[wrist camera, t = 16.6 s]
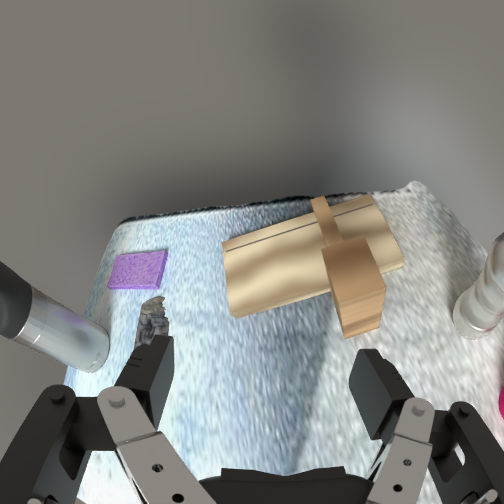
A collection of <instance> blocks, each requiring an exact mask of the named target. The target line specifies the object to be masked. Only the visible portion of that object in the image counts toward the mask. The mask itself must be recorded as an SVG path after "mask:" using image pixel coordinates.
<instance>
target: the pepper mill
mask: <svg viewBox="0 0 504 504" xmlns="http://www.w3.org/2000/svg"><path fill="white" fill-rule="evenodd" d="M499 409H500V413H501V415H502V417H503V419H504V388H503V389H502V392H501V395H500V399H499Z"/></svg>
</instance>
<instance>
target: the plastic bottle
mask: <svg viewBox="0 0 504 504" xmlns="http://www.w3.org/2000/svg"><path fill="white" fill-rule="evenodd" d="M503 316H504V233H502V234H501V235H500V236H498V237H497V238H496V239H495V241H494V243H493V244H492V247H491V249H490V251H489V254H488V257H487V260H486V263H485V265H484V268H483V270H482V271H481V273H480V275H479V277H478V279H477V280H476V281H475V282H474V283H473V284H472V286H471V287H469V288H468V289H466V290H465V291H464V292H463V293H462V294H461V295H460V296H459V298H458V299H457V301H456V303H455V307H454V310H453V322H454V326H455V328H456V329H457V331H458V332H459V333H460V334H461V335H462V336H464V337H465V338H468V339H473V340H475V339H480V338H483V337H485V336H487V335H489V334H490V333H491V332H492V331H493V330H494V329H495V328H496V326H497V325H498V323H499V322H500V320H501V319H502V318H503Z"/></svg>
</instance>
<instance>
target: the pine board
mask: <svg viewBox="0 0 504 504" xmlns="http://www.w3.org/2000/svg"><path fill="white" fill-rule="evenodd" d="M329 208H330V210H331V212H332V215H333V217H334V219H335V222H336V224H337V226H338V229H339V231H340V234H341V236H342V238H343V241H347V240H350V239H353V238H356V237H359V236H362V235H364V237H365V239H366V241H367V243H368V245H369V248H370V250H371V252H372V255H373V257H374V259H375V261H376V264H377V266H378V269H379V271H380V273H381V274H384V273H387V272H390V271H392V270H395V269H398V268H401V267H403V262H404V257H403V255H402V253H401V251H400V249H399V247H398V245H397V243H396V241H395V239H394V237H393V235H392V233H391V231H390V229H389V227H388V225H387V223H386V221H385V219H384V217H383V215H382V213H381V212H380V210H379V208H378V206H377V204H376V202H375V201H374V199H373V197H372V195H371V194H369V195H366V196H362V197H359V198H356V199H353V200H350V201H346V202H343V203H340V204H337V205H334V206H331V207H329ZM222 247H223V256H224V265H225V274H226V283H227V292H228V300H229V308H230V313H231V314H232V315H233V316H234V317H235V318H240V317H244V316H247V315H251V314H255V313H258V312H262V311H266V310H269V309H273V308H276V307H280V306H283V305H287V304H290V303H293V302H297V301H300V300H303V299H307V298H310V297H313V296H317V295H320V294H323V293H326V292H329V291H331V289H330V285H329V280H328V276H327V272H326V268H325V264H324V260H323V255H322V251H321V249H322V248H325V247H327V245H326V242H325V240H324V237H323V234H322V232H321V229H320V226H319V224H318V221H317V219H316V216H315V213H314V212H312V213H309V214H306V215H303V216H300V217H297V218H293V219H290V220H287V221H284V222H281V223H278V224H275V225H272V226H269V227H266V228H263V229H260V230H257V231H254V232H251V233H248V234H245V235H242V236H239V237H236V238H233V239H230V240H227V241H224V242H222Z"/></svg>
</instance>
